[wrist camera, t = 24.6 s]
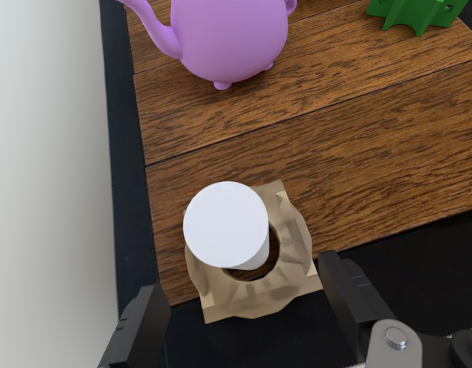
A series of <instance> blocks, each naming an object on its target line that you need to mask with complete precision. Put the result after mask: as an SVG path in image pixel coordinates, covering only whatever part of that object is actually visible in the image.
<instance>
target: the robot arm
mask: <svg viewBox="0 0 472 368" xmlns="http://www.w3.org/2000/svg"><path fill="white" fill-rule="evenodd" d="M318 264H319V273H320V279H321V283H322V286H323V289H324V291H325V293H326V295H327V297H328V300H329V302H330V304H331V306H332V308H333V310H334V313H335V315H336V317H337V319H338V321H339V324H340V326H341V328H342V330H343V332H344V334H345V337H346V339H347V341H348V343H349V345H350V347H351V350H352V352H353V354H354V356H355V358H356V360H357V363H360V362H366V365H365V368H472V330H470V329H462V330H458V331H456V332H455V333H454V334H453V335H452V338H446V337H439V336H432V335H426V334H422V333H418V332H416V331H413V330H412V329H411V328H410V327H408V326H407V325H406V324H404V323H402V322H400V321H399V320H398V319H397V318H396V317H395V316H394V315H393V313H392V312H391V310H390V309H389V307H388V306H387V305H386V303H385V302H384V300H383V299H382V298H381V296H380V295H379V293H378V292H377V291H376V289H375V288H374V286H373V285H371V282H370V281H369V279H368V278H367V277H366V276H365V274H364V272H363V271H362V270H361V268H360V267H359V265H357V264H356V263H354V262H353V261H351V260H350V259H349V258H348V259H343V260H341V259H340V258H339V256H338V255H337V253H336V252H335V250H328V251H323V252H318ZM169 319H170V304H169V302H168V300H167V298H166V295H165V293H164V291H163V289H162V287H161V285H160V284H159V283H154V284H149V285H144V286H142V288H141V289H140V292H139V294H138V296H137V298H135V299H133V300H132V301H131V302H130V303H129V304H128V306H127V307H126V308H125V310H124V312H123V314H122V316H121V318H120V322H118V325H117V327H116V331H114V333H113V335H112V337H111V340H110V342H109V344H108V346H107V348H106V351H105V352H104V355H103V357H102V359H101V361H100V363H99V365H98V367H97V368H157V366H158V362H159V358H160V354H161V350H162V346H163V342H164V338H165V334H166V330H167V326H168V323H169Z"/></svg>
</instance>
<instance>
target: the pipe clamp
mask: <svg viewBox="0 0 472 368" xmlns="http://www.w3.org/2000/svg"><path fill="white" fill-rule="evenodd" d="M468 1H469V0H371V1H370V4H369V7H368V9H367V12H366V14H368V15H374V16H380V17H386V20H385V23H384V25H383V28H382V30H388V28H389V27H391V26H392V25H395V24H406V25H409V26H411V27H412V28H414V30H415V32H416V36H422V34H423V33H424V31H425V30H426V28H427V27H428V25H429V24H430V25H436V26H442V27H450V25H451V24H452V22H453V21H454V20H455V18H456V17H457V16H458V14H459V13H460V12H461V10H462V9H463V8H464V6H465V5H466V3H467V2H468ZM450 4H451V5H453V6H452V7H450V8H445V6H447V5H450Z"/></svg>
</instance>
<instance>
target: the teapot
mask: <svg viewBox="0 0 472 368" xmlns="http://www.w3.org/2000/svg"><path fill="white" fill-rule="evenodd" d="M117 1H120V2H122V3H124V4H126V5H127V6H129V7H130V8H131V9H133V10H134V12H135V13H136V14H137V15H138V16H139V18H140V19H141V21H142V23H143V24H144V26H145V28H146V30H147V32H148V33H149V35H150V37H151V39H152V40H153V42H154V43H155V44H156V46H157V47H158V48H159V49H160V50H161V51H162V52H163V53H164V54H166V55H168V56H170V57H172V58H176V59H180V61H181V62H182V64H183V65H184V66H185V67H186V68H187V69H188V70H189V71H191V72H192V73H193V74H195V75H197V76H199V77H201V78H204V79H206V80H210V81H214V86H215V88H216V89H219V90H225V89H227V88H229V87H230V86H231V84H232V82H238V81H242V80H245V79H248V78H250V77H252V76H254V75H256V74H258V73H259V72H261V71H265V70H268V69H270V68H271V67H272V65H273V61H274V60H275V59H276V58H277V56H278V55H279V54H280V52H281V51H282V49H283V47H284V45H285V42H286V39H287V34H288V19H287V16H289V15H291V14H292V13H293V12H294V10H295V8H296V5H297V0H172V4H171V27H168V26H164V25H162V24H161V23H160V22H159V21H158V20H157V18H156V16H155V14H154V12H153V10H152V9H151V7H150V5H149V4H148V2H147V1H146V0H117ZM288 1H289V2H288ZM286 2H288V4H287V5H286Z"/></svg>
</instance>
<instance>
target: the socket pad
mask: <svg viewBox="0 0 472 368" xmlns="http://www.w3.org/2000/svg"><path fill="white" fill-rule="evenodd" d="M247 187H249V186H247ZM249 188H250V189H252V190H253V191H254V192H256V194H257V195H258V196H259V197H260V198H261V200H262V201H263V203H264V205H265V207H266V211H267V214H268V226H269V227H270V228H271V230H272V231H273V232H274V233H275V235H276V238H277V240H278V243H279V258H278V260H277V262H276V265H275V267H274V269H273V270H272V271H271V272H270V273H268V274H267V275H266V276H265V277H264V278H261V279H257V280H254V281H248V280H240V279H238V278H237V277H235V276H233V275H232V274H230V273H229V272H228V271H227V269H226V268H221V267H215V266H211V265H209V264H206V263H204V262H203V261H201V260H200V259H198V258H197V257H196V256H195V255H194V254H193V253H192V251H191V250H190V248H189V247H188V245H187V243H186V246H185V257H186V262H187V268H188V273H189V277H190V279H191V280H192V282H193V284H194V285H195V287H196V288H197V290H198V291H199V294H200V299H201V304H202V308H203V313H204V318H205V323H206V324H208V323H211V322H214V321H218V320H221V319H224V318H228V317H231V316H239V317H245V318H251V319H254V318H258V317H261V316H264V315H268V314H271V313H274V312H278V311H280V310H281V309H282V308H284V307H285V306H286V305H287V304H288V303H289V302H290V301H291V300H292V299H293V298H295V297H297V296H301V295H304V294H307V293H310V292H314V291H317V290H320V289H323V286H322V284H321V281H320V279H319V276H318V275H317V271H316V268H315V266H314V263H313V261H312V238H311V236H310V233H309V231H308V228H307V226H306V223H305V221H304V218H303V216H302V215H301V214H300V212H299V211H298V210H297V209H296V208H295V207H294V206H293V205H292V204H291V203H290V202H289V199H288V197H287V194H286V191H285V189H284V186H283V184H282V181H281V180H278V181H275V182H271V183H268V184H265V185H262V186H259V187H249ZM186 210H187V209H186ZM186 210H183V213H184V216H185V212H186Z"/></svg>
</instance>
